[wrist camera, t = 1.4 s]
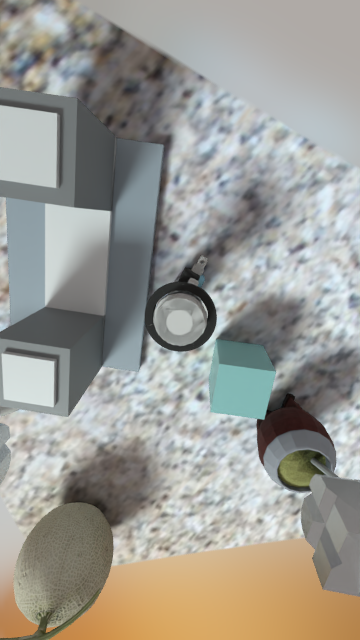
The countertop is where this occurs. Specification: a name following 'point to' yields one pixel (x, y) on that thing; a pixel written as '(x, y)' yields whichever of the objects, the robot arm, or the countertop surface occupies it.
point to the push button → (182, 312)
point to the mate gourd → (294, 446)
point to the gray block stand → (72, 248)
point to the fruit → (62, 567)
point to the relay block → (240, 379)
